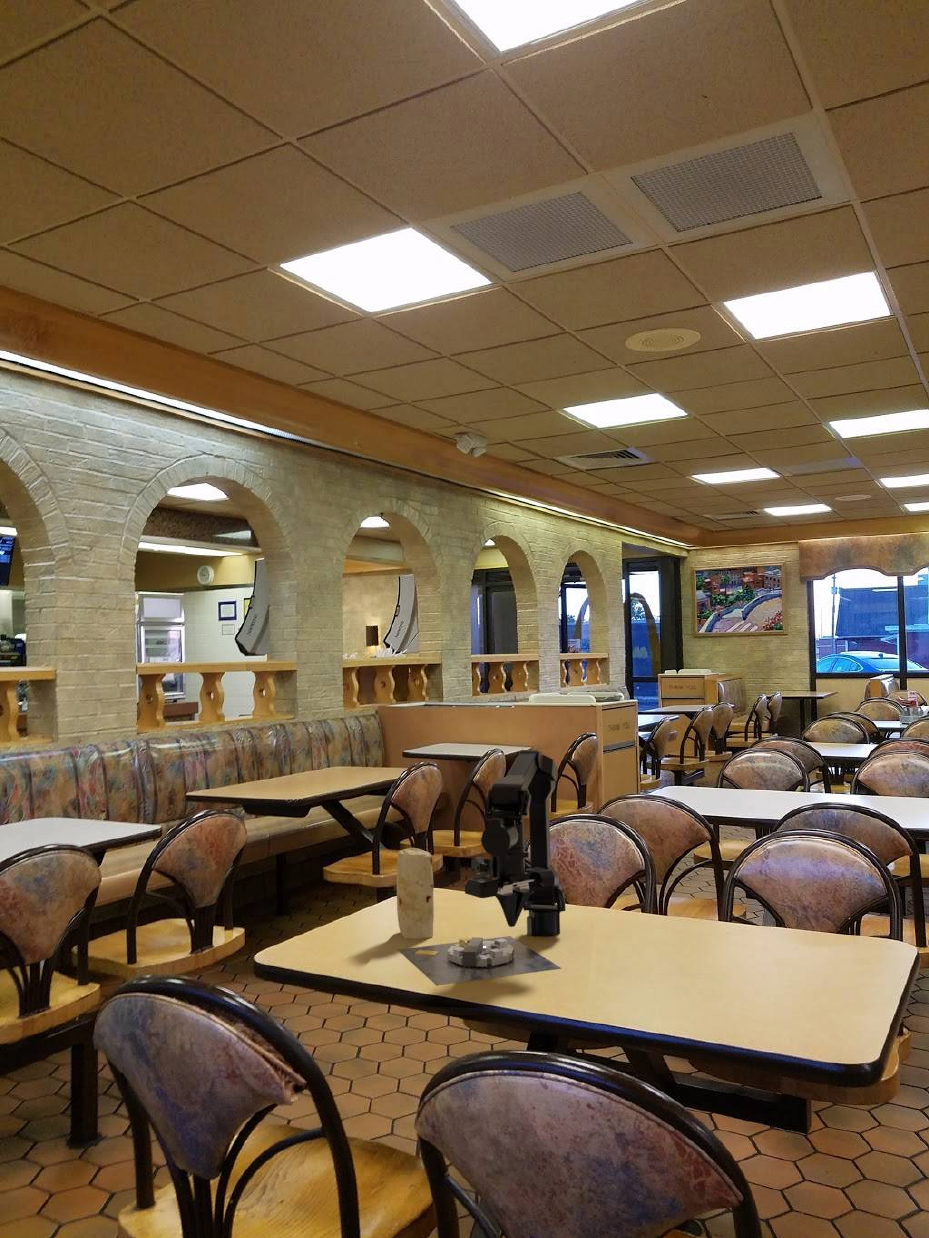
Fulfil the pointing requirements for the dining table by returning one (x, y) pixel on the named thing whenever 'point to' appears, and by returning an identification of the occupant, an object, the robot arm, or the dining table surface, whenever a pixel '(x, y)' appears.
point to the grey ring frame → (472, 949)
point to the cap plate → (449, 972)
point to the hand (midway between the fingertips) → (511, 926)
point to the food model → (415, 893)
